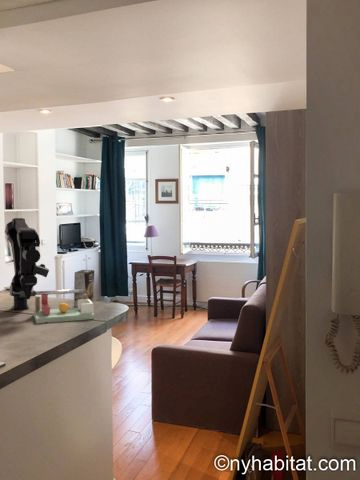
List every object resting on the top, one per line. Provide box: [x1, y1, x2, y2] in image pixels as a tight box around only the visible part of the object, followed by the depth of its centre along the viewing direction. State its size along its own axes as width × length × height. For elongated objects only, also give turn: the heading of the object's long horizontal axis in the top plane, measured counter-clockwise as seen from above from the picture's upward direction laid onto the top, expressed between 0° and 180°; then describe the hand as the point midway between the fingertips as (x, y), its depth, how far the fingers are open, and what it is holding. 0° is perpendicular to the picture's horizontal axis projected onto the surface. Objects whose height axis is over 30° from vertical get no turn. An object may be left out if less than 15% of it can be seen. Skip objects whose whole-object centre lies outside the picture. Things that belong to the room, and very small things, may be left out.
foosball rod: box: [20, 288, 83, 315], centre depth 186 cm, size 10×26×8 cm, turn 113°
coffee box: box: [73, 269, 95, 308], centre depth 207 cm, size 9×6×16 cm
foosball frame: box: [33, 294, 95, 324], centre depth 186 cm, size 13×23×8 cm, turn 113°
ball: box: [58, 302, 70, 312], centre depth 186 cm, size 4×4×4 cm
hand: (27, 296), depth 185 cm, fingers open, 9 cm apart
